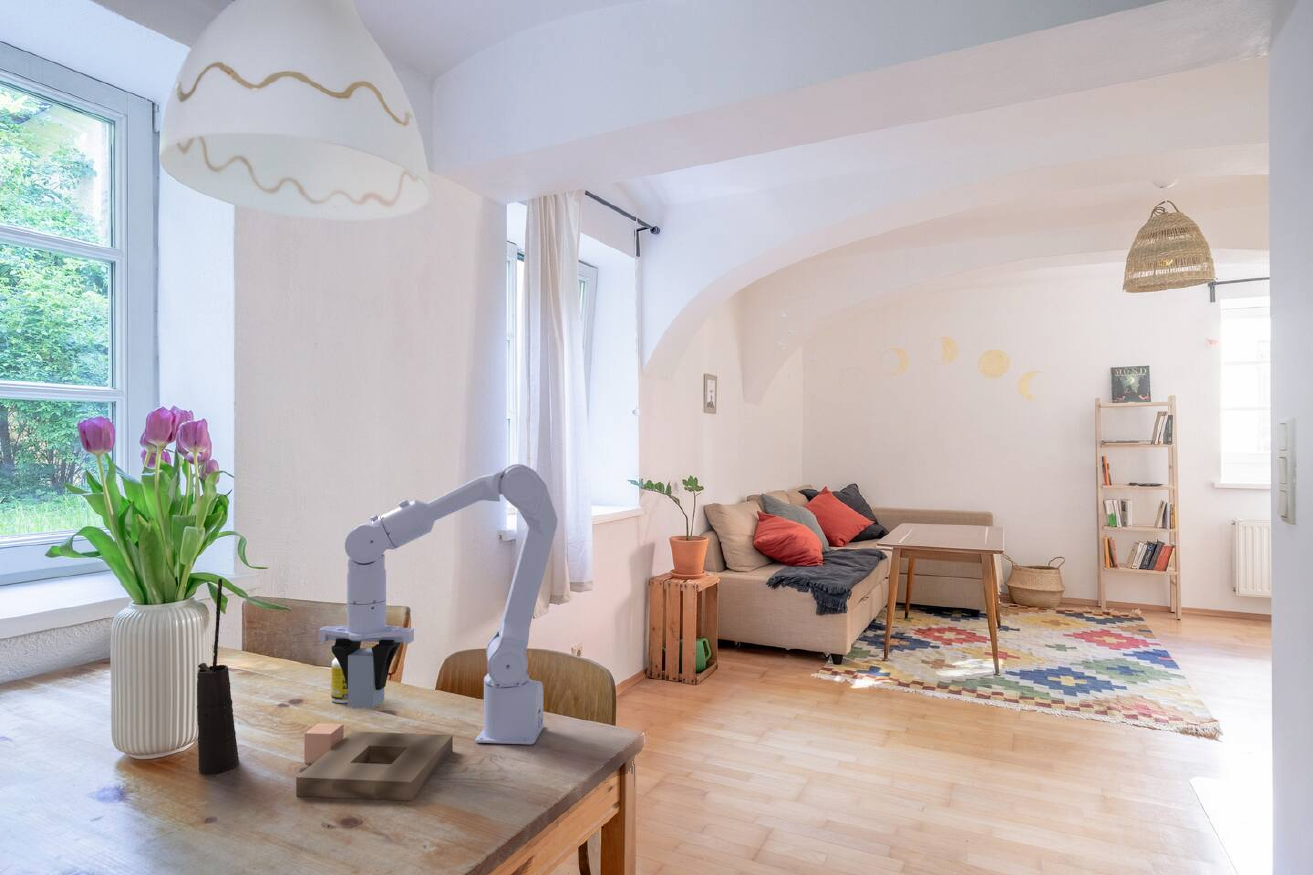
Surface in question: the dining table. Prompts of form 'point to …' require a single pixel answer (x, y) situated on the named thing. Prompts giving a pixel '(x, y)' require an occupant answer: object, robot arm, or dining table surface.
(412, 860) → the dining table surface
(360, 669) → the tall pin
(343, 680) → the supplement bottle
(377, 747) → the hole board
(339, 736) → the short pin
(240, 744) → the dining table surface
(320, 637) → the robot arm
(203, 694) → the butter churn
